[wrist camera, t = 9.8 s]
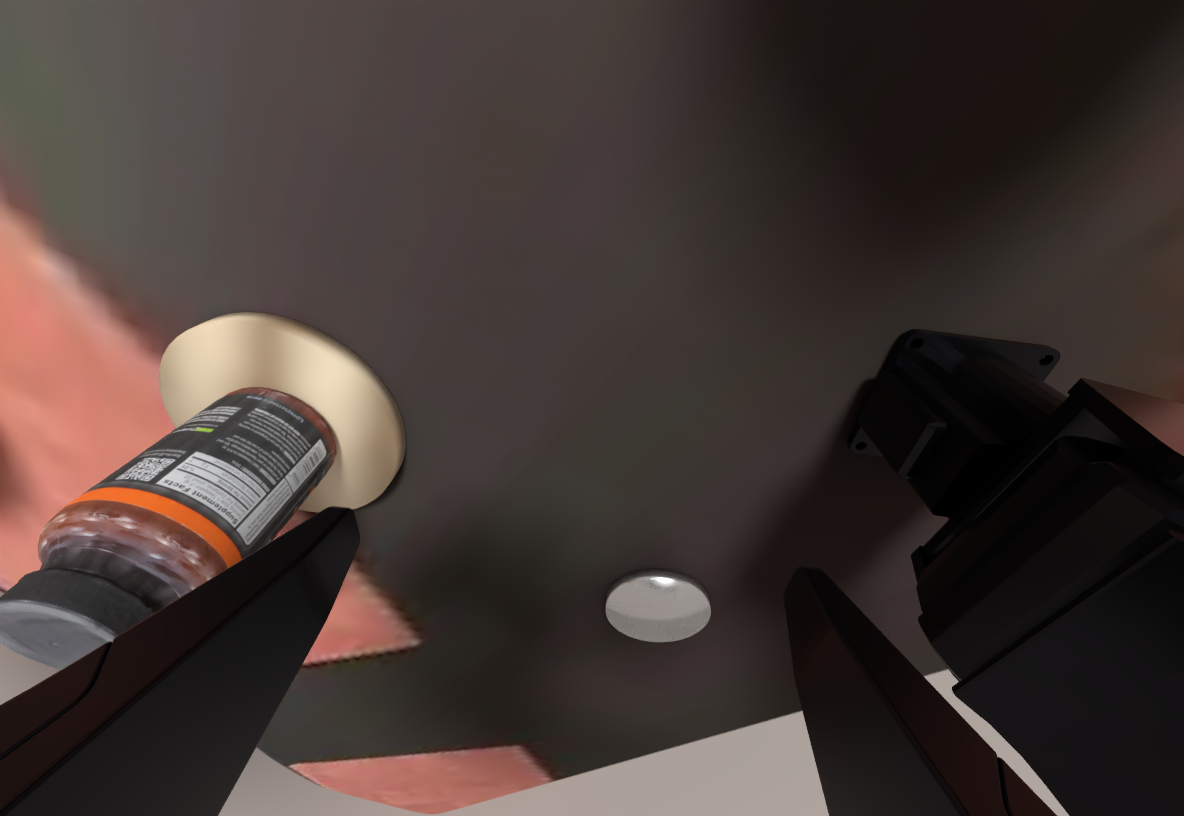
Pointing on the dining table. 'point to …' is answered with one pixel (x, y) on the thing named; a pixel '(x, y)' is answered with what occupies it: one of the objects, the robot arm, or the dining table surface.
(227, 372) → the coaster
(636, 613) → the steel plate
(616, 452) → the dining table surface
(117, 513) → the supplement bottle
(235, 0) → the dining table surface
